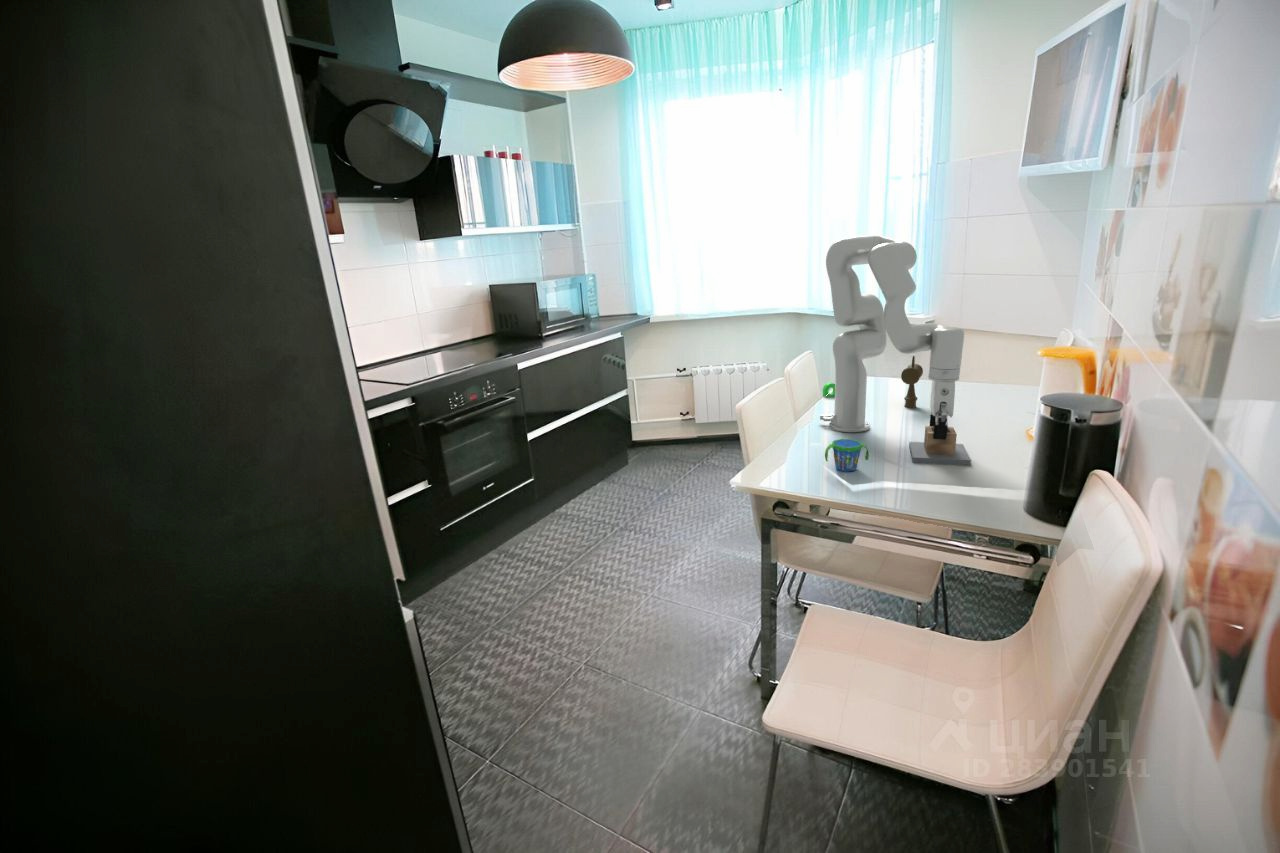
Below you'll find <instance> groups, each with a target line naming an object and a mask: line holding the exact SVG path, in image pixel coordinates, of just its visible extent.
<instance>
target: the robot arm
mask: <svg viewBox="0 0 1280 853" xmlns="http://www.w3.org/2000/svg"><path fill="white" fill-rule="evenodd" d="M825 258H826V259H825V267H826V273H827V277H828V280H829V285H830V292H831V302H832V311H833V317H834V321H835V323H836V324H837V325H838V326H840V327H843V328H845V327H846V328H848V327H855V326H856V327H857V326H858V329H854V330H849V331H847V330H846V331H844V332H842V333H840V334H838V336H836V337H835V339H834V341H833V343H832V353H833V357H834V368H835V370H834V371H835V374H834V375H835V378H834V379H835V383H834V384H835V396H834V410H833V413H830V414H825V413H820V416H819V420H820V421H823V422H828V423H829V424H828V427H829V428H830V429H831V430H833V431H837V432H840V433H841V432H842V433H861V432H865V431H868V430H870V427H871V424H870V423H869V422H868V421H866V407H867V406H866V405H867V404H866V403H867V383H868V382H867V381H868V380H867V378H868V376H867V374H868V373H867V368H866V366H865V365H864V361H863V360H865V359H866V360H867V359H871V358H875V357H879V356H880V355H882V354H883V353H884V351H885V349H886V347H887V335H888V338H889V339H890V342H891V343H892V345H893V347H894V348H895V349H896V350H897V351H898V352H899V353H902V354H905V355H910V354H915V353H921V352H927V351H928V352H929V351H930V353H929V356H930V357H929V365H928V374H927V375H928V376H927V379H928V380H930V381H932V382H931V390H930V404H929V405H930V417H929V425H928V426H934V432H933V439H942V440H945V439H946V437H947V428H948V427H949V425H948V418H949V417H950V418H952V417H954V410H955V408H954V406H955V397H956V396H955V395H956V394H955V393H956V382H957V381H960V374H961V367H962V357H963V349H964V340H965V331H964V330H963V328H960V327H957V326H944V325H942V324H938V323H933V322H927V323H920V324H913V325H911V323H910V321H909V318H908V315H907V314H906V311H905V310H906V309H905V306H906V305H905V304H906V301H907V300H908V298H910V297H911V296H912V295H913V294H914V293H915V291H916V289H917V285H916V282H915V281H914V279H913V277H912V274H911V273H910V272H909V270H911V269H912V268H914V266H915V264H916V263H917V258H918V256H917V251H916V249H915V247H914V246H913V245H912V244H911V243H909V242H907V241H904V240H899V239H896V238H891V237H888V236H883V235H878V234H871V235H869V234H868V235H851V236H844V237H842V238H840V239H837V240H835V241H834V242H833V243H832V244H831V245H830V247H829V248H828V251H827V253H826V257H825ZM856 265H857V266H859V265H868V266H869V268H870V270H871V272H872V274H873V276H874V278H875V281H876V283H877V285H878V286H879V288H880V291H881V294H883V297H884V300H885V305H884V306H883V304H882V301H881V300H880V299H879V298H878V297H877V295H874V294H869V293H864V294H863V293H861V288H860V280H859V276H858V275H857V273H856V272H855V270H854V269H853V266H856Z"/></svg>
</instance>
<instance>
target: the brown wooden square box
mask: <svg viewBox="0 0 1280 853" xmlns="http://www.w3.org/2000/svg"><path fill="white" fill-rule="evenodd" d="M933 432H934V426H929V425H925V426H924V439H923V440H924V441H923V442H924V448H925V451H926V454H940V455H955V448H956V444H957V435H958V434H957V432H956V430H955V428H954V427H953V426H948V428H947V437H946V439H945V440H942V439H933Z"/></svg>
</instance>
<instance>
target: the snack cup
mask: <svg viewBox="0 0 1280 853" xmlns="http://www.w3.org/2000/svg"><path fill="white" fill-rule="evenodd" d="M863 447H864V448H865V456H864V459H865V460H866V461H868V460H869V457H870V456H869V455H870V453H869V452H870V451H869V449H868V447H867V446H866V445H865V444H864V443H862V442H861V441H859V440H856V439H849V438H842V439H839V438H838V439H836V440H833V441H832V443H831V444H829V445H828V446H827V447H826V449H825V451H824V458H825V462H828V458H829V457H828V454H829V450H830V449H831V448H832V450H833V460H834V466H835V469H836V470H838V471H841V472H845V473H846V472H854V471H855V470H857V468H858V465H859V459H860V455H861V452H862V449H863ZM855 472H856V471H855Z"/></svg>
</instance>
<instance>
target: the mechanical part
mask: <svg viewBox="0 0 1280 853" xmlns="http://www.w3.org/2000/svg"><path fill="white" fill-rule="evenodd" d="M831 388H832V391H831V392H829V390H830V389H831ZM828 393H829V394H828ZM827 394H828V395H827ZM826 395H827V396H826ZM824 396H826V397H825V398H827V397H828V396H829V397H835V383H834V382H827V383H825V384H824V385H823V387H822V397H824Z"/></svg>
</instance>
